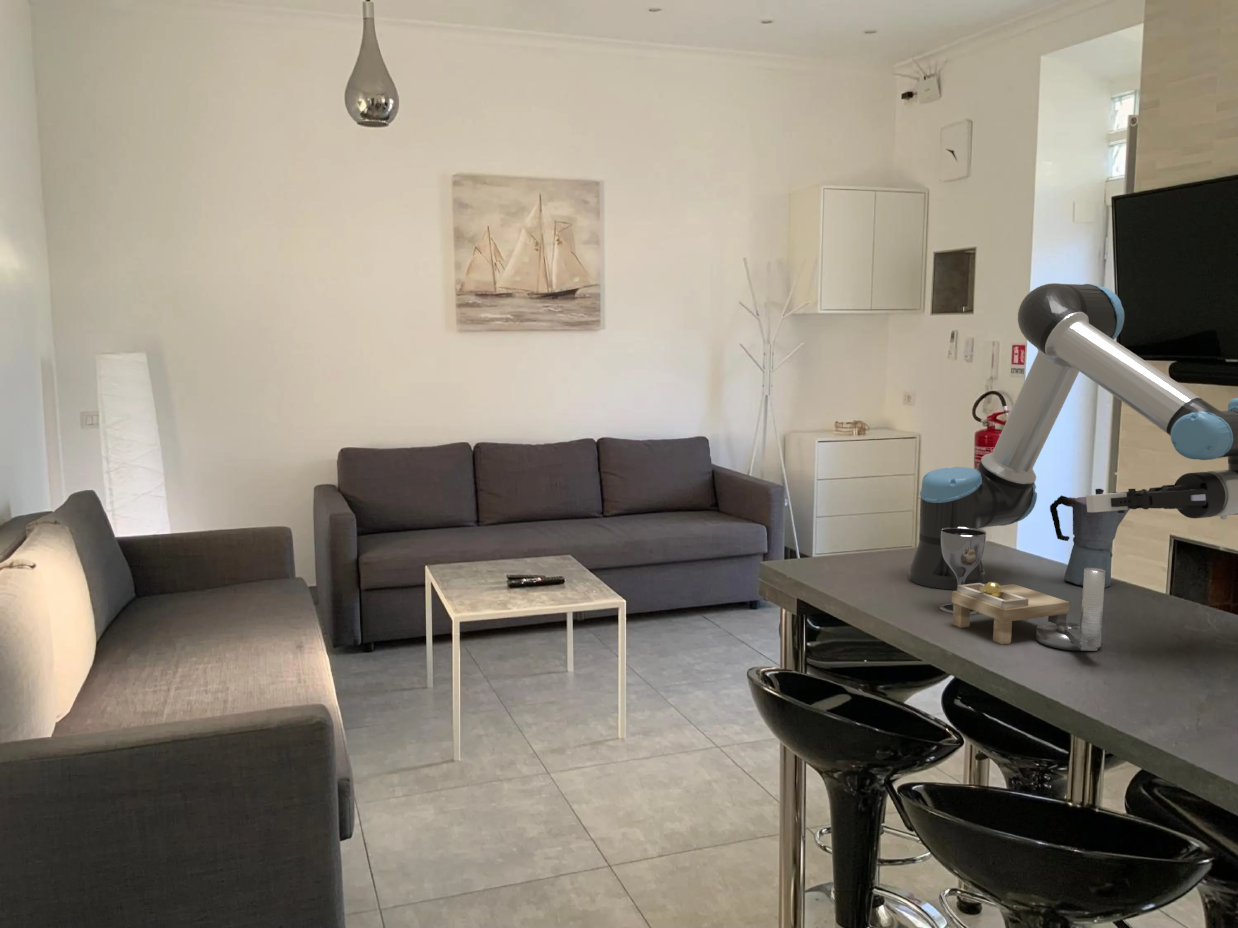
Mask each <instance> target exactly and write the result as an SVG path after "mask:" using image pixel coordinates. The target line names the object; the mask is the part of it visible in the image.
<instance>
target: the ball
mask: <svg viewBox="0 0 1238 928" xmlns="http://www.w3.org/2000/svg"><path fill="white" fill-rule="evenodd" d="M1000 586H1001V585H1000V583H997V582H995V581H988V582H986V583H985V585H984V587H983V592H985V593H986V594H989V595H992V596H994V597H997V598H998V597H999V596H1000V595H1001V587H1000Z"/></svg>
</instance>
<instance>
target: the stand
mask: <svg viewBox="0 0 1238 928" xmlns="http://www.w3.org/2000/svg"><path fill="white" fill-rule="evenodd" d="M985 584H986V583H985ZM985 584H982V583H974V584H966V585H958V586H957V589H956V590H953V591H952V592H951V604H954V606H953V613H952V626H955V627H958V628H960V629H961V628H962V629H963V628H969V627H970V621H971V620H970V619H971V615H970V609H971V610H974V611H977V612H979V613H980V614H981V615H985V616H988V617H991V618H992V619H993V635H992V642H995V643H997V644H999V645H1005V644H1006V645H1007V644H1012V643H1011V642H1012V627H1013V622H1016V621H1022V620H1029V619H1037V618H1044V617H1045V618H1046V617H1048V619H1047V622H1048V623H1054V624H1057V623H1059V622H1067V618H1068V617H1067V614H1069V613H1070V603H1071V602H1070V601H1067V600H1064V599H1061V598H1059V597H1055V596H1052V595H1049V594H1045V593H1042V592H1039V591H1037V590H1034V589H1030V588H1027V587H1025V586H1024V587H1023V586H1020V585H1018V584H1015V583H1011V584H1004V585H1000V587H1001V595H1000V596H999V597H998V598H997V597H994V596H992V595H989V594H986V593H985V592H983V587H984V585H985ZM979 613H978V614H979Z"/></svg>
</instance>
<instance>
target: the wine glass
mask: <svg viewBox="0 0 1238 928" xmlns="http://www.w3.org/2000/svg"><path fill="white" fill-rule="evenodd" d="M986 532H987V531H985V530H982V529H981V528H978V529H975V528H967V527H947V528H943V529H941V550H942V555H943V558H944V560H945V562H946V563H947V565H948V566H949V567H950V569H951V570H952V571H953V572H954V574H955V576H956V578H957V583H958V585H964V582H965V579H966V577H967V576H968V575H969V573H970V572H971V571H972V570H973V569H974V568H975V567H976V566H977V565H978V564H979V563H980V562H982V559H983V556H984V554H985V548H986V539H987V533H986ZM953 606H954V603H946V604H941V605H940V606H939V609H940V610H941V611H942V612H945V613H949V614H953ZM976 614H979V612H977V611H974V610H971V609H970V616H971V615H976Z"/></svg>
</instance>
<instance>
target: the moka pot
mask: <svg viewBox="0 0 1238 928" xmlns="http://www.w3.org/2000/svg"><path fill="white" fill-rule="evenodd" d="M1104 491H1105V490H1104V489H1102V488H1096V489H1095V495H1096V494H1104ZM1060 505H1064V506H1065V507H1071V508H1072V535H1073V536H1074V537H1073V538H1072V541H1073V545H1072V548H1071V552H1070V555H1069V556H1070V557H1069V560H1068V562H1067V567H1066V569H1065V573H1064V578H1063V580H1064V581H1067V582H1069V583H1070V584H1075V585H1077V586H1082V587H1083V579H1084V569H1085V568H1098V569H1103V570H1105V584H1104V588H1109V587H1110V586H1111V583H1112V582H1111V581H1112V578H1111V577H1112V567H1111V566H1112V565H1111V564H1112V561H1111V560H1112V559H1111V558H1112V557H1113V552H1112V551H1111V549H1112V546H1113V541H1114V540H1115V538H1116V534H1117V532H1118V527H1119V526H1120V524H1121V522H1122V521H1123V520H1124V518H1125V517H1126V515H1127V514H1128V512H1129V511H1130V510H1131V509H1130V508H1128V510H1124V511H1125V513H1118V511H1104V512H1087V501H1086V496H1080V497H1067V496H1065V495H1060V496H1059V497H1057V499H1055V500H1054V501H1053V502H1052V503H1051V504H1050V506H1049V511H1050V514H1051V515H1050V516H1051V519H1052V522H1053V527H1054V531H1055V534H1056V538H1057V540H1061V541H1065V542H1068V541H1069V540H1070V536H1068V535H1063V533H1062V530H1061V522H1060V517H1059V513H1058V512H1059V511H1058V509H1057V508H1058V507H1059V506H1060Z"/></svg>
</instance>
